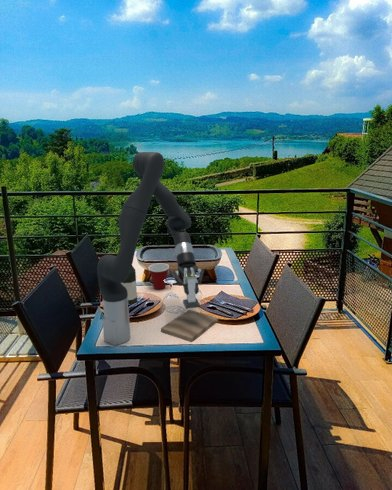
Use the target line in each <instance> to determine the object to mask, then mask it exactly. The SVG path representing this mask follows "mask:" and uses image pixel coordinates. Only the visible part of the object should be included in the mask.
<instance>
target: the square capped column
mask: <svg viewBox="0 0 392 490" xmlns="http://www.w3.org/2000/svg"><path fill="white" fill-rule="evenodd" d="M196 275H197V274H194V273H191V274H185V277H186V280H187V285H188V290H189V294H188V295H186V299H182V304H183V305H184V308H185V309H187V310H190V309H195V308H196V309H197V308H200V307H201V306H200V305H201V304H200V302H199V300H198V299H197V298H196V297H197V296H196V294H195V279H197V276H196Z"/></svg>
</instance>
